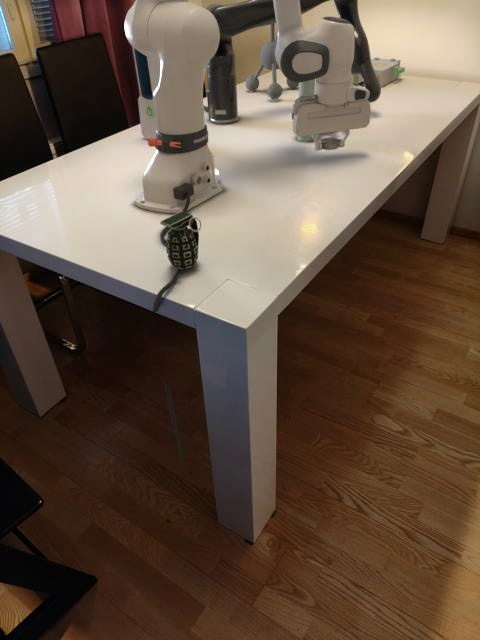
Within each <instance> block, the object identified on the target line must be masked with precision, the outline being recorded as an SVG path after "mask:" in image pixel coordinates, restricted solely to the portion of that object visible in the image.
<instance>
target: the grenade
mask: <svg viewBox="0 0 480 640" xmlns="http://www.w3.org/2000/svg"><path fill="white" fill-rule="evenodd" d="M198 222H199V226H198ZM159 224H160V225H162V226H164V227H169V228H170V227H171V228H170V229H169V230H168V231H167V236H166V240H167V245H166V254H167V259H168V261H169V263H170V265H171V266H172V267H174V268H176V269H178V268H180V269H183V270H182V271H186V270H189V269H192V267H194V266H195V265H196V264H197V262H198V261H197V260H198V259H199V243H200V241H199V240H200V233H199V232H200V231H201V228H202V221H201V220H200V219H199V218H198V217H197V216H194V215H193V214H192V213H189V212H187V211H186V212H184V211H181V212H179V213H174V214H172V215H170V216H169V217H166V218H165V219H162V220H160V222H159ZM198 227H199V228H198Z"/></svg>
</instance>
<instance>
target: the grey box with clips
mask: <svg viewBox="0 0 480 640" xmlns="http://www.w3.org/2000/svg"><path fill="white" fill-rule="evenodd" d="M371 63H372V66H373V68H374V71H375V74H376V76H377V78H378V80H379V83H380V86H381V88H382V87H384V86H386V85H388V84H389V83H391V82H393V81H394V80H395V81H397V80H398V76H399V75H401V74H402V73H404V72H405V70H406V67H404V66H401V59H396V58H391V59H390V58H379V57H374V58H371ZM362 81H364V80H363V77H362V76H361V75H352V84H357V83H360V82H362Z"/></svg>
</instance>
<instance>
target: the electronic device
mask: <svg viewBox="0 0 480 640" xmlns="http://www.w3.org/2000/svg"><path fill="white" fill-rule="evenodd" d="M131 47H132V54H133V60H134V61H133V62H134V65H135V72H136V79H137V86H138V90H139V97H138V98H137V103H138V113H139V123H140V129H141V130H140V131H141V135H142V136H143V138H144V139H146V140H148V139H149V138H150V137H152V138H156V130H157V129H158V128H157V121H156V114H155V108H154V101H153V93H154V90H155V89H156V87H157V86H158V84H159V80H160V71H161V63H160V60H159V59H154V58H150V57H147V56H145V55H144V54H142V53H140V52H139V51H138V50H136V49H135V48H134V47H133V46H132V45H131Z"/></svg>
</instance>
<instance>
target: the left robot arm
mask: <svg viewBox="0 0 480 640" xmlns="http://www.w3.org/2000/svg"><path fill="white" fill-rule="evenodd" d="M273 4H274V11H275V18H276V23H275V25H276V34H275V44H274V49H273V57H274V61H275V64H276V65H277V67H278V68H279V69H278V70H280V72H281V73H282V74H283V76H284V77H285V78H286V80H287V79H288V80H290V81H292V82H297V83H300V82H305V81H309V80H313V79H315V95H309V96H301V97H299V96H298V98H296V99H295V100H294V102H293V104H292V113H294V117H293V120H292V129H291V130H292V132H293V133H294V134H295V135H296V136H297V137H298V136H304V135H311V136H312V138H313V140H312V141H313V142H314V150H315V151H322V150H323V149H322V145H323V143H321V141H319V137H320V135H321V134H326V133H335V132H341V133H342V134H341V135H340V138H338V139H339V148H344V147H345V143H346V140H347V138H348V137H349V135H350V131H351V130H357V129H358V130H359V129H364V128H367V127H368V126H369V124H370V122H371V103H370V102H369V101H368V100H367V99H368V98H369V95H370V92H369V90H367V89H366V88H364V87H362V86H360V85H356V84H352V74H351V67H352V63H353V60H354V28H353V25H352V24H351V23H350V22H349V21H348V20H346V19H342V18H339V16H338V17H337V16H323V17H322V18H321V19H320V20H319V21H318V22H317V23H316V24H315V25H313V26H312V27H310V28H309V29H307V30H305V28H304V25H303V19H302V15H301V8H300V0H273ZM124 32H125V37H126V39H127V41H128V43H129V45H130V46H131V47H132V46H133V47H134V48H135V49H136V50H138V51H139V52H140V53H142V54H144V55H145V56H147V57H150V58H154V59H159V60H160V63H161V71H160V80H159V84H158V86H157V87H156V89H155V90H154V93H153V101H154V108H155V114H156V121H157V128H158V129H157V130H156V138H152V137H150V138H149V139H147V146H149V147H151V148H152V147H154V148H155V151H154V153H153V155H152V157H151V159H150V162H149V163H148V165H147V167H146V169H145V172H144V173H143V176H142V192H140V193H139V195H138V196H137V197H135V199H134V205H135V206H137V207H138V208H140V209H142V210H143V209H144V210H147V211H151V212H157V213H164V214H177V213H179V212H181V211H184V212H187V211H189V210H190V209H193V208H194V207H196V206H198V205H199V204H201V203H203V202H205V201H207V200H208V199H210V198H212V197H214V196H215V195H217V194H219V193H220V192H222V191H223V185H222V184H220V183H219V180H218V176H219V175H220V172H219V170H218V169H217V168H216V163H215V156H214V155H213V153H212V152H211V149H210V147H209V145H208V143H209V130H208V126H207V124H206V121H205V109H204V106H205V105H204V83H205V77H206V73H207V65H208V63H209V61H210V60H211V58H212V57H213V56H214V55H215V53H216V51H217V49H218V46H219V40H220V31H219V26H218V23H217V20H216V19H215V17H214V15H213V14H212V13H211V12H210V11H208V10H207V9H206V8H205V7H203V6H200V5H199V4H196V3H194V2H192V1H191V2H190V1H189V0H135V1H134V2H133V4H132V6H131V7H130V8H129V9H128V10H127V13H126V16H125V18H124ZM169 230H171V227H170V228H169V227H166V226H164V228H163V229H161V232H160V234H159V237H160V241H161V242H162V243H163V244H164V245H165V246H167V238H165V234H166V233H168V231H169ZM183 271H184V270H183V269H180V268H177V270H176V271H175V273H174V274H173V276H172V278H171V279H170V280H169V281H168V283H166V284H165V285H164V286H163V287H161V289H160V290H159V291H158V293H156V296H155V298H154V302H153V307H152V313H157V312H158V311H159V307H160V306H159V305H160V302H161V299H162V297H163V295H164V294H165V293H166V292H167V291H168V290H169V289H170V288H172V286H173V285H174V284H175V283H176V281H177V280H178V278H179V276H180V275H181V273H182V272H183ZM163 384H164V389H165V394H166V399H167V404H168V410H169V414H170V417H171V423H172V428H173V432H174V437H175V442H176V445H177V446H176V447H177V451H178V456H179V462H180V464H181V465H184V464H185V459H184V453H183V448H182V447H183V446H182V442H181V438H180V432H179V429H178V428H179V427H178V422H177V417H176V413H175V408H174V403H173V398H172V392H171V387H170V384H168V383H167V382H165V381H163Z"/></svg>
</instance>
